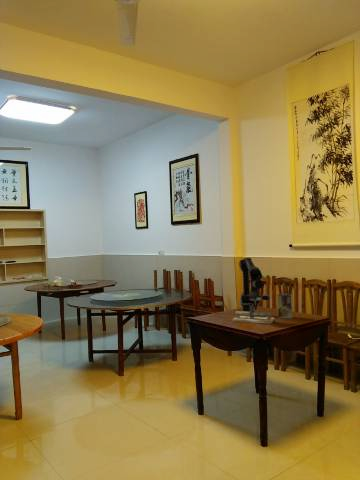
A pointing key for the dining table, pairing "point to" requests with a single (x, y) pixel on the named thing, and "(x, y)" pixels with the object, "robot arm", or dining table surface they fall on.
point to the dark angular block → (251, 311)
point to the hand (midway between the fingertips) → (256, 309)
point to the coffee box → (285, 305)
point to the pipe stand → (253, 320)
